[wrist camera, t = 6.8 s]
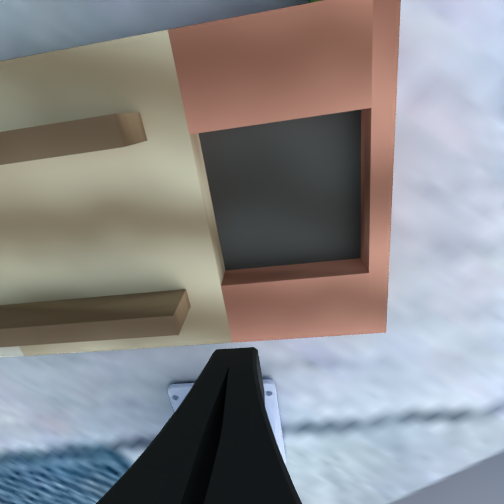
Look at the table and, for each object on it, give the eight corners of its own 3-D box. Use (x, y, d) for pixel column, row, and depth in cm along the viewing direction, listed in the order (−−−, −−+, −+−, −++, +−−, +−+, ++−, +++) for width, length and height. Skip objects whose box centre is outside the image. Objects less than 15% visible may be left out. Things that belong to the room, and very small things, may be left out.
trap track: (375, 311, 20) (401, 364, 16) (-54, 343, 24) (-122, 392, 20) (384, 1, 13) (431, -44, 9) (-211, 110, 17) (-363, 112, 13)
